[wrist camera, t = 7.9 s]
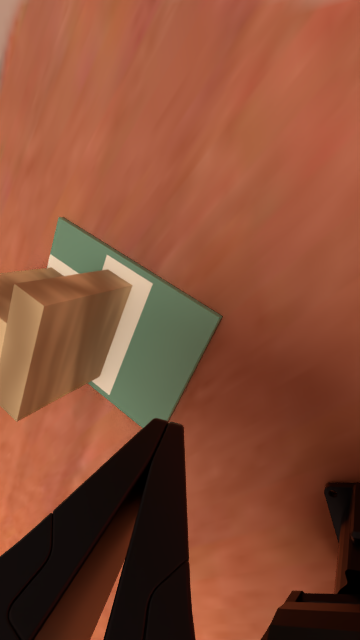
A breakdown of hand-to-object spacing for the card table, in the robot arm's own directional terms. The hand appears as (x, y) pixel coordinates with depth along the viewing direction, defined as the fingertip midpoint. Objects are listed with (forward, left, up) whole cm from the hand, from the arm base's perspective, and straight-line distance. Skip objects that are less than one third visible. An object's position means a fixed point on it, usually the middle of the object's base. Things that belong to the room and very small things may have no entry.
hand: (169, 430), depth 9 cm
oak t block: (+5, +16, -13) cm, 21 cm away
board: (+2, +13, -14) cm, 19 cm away
